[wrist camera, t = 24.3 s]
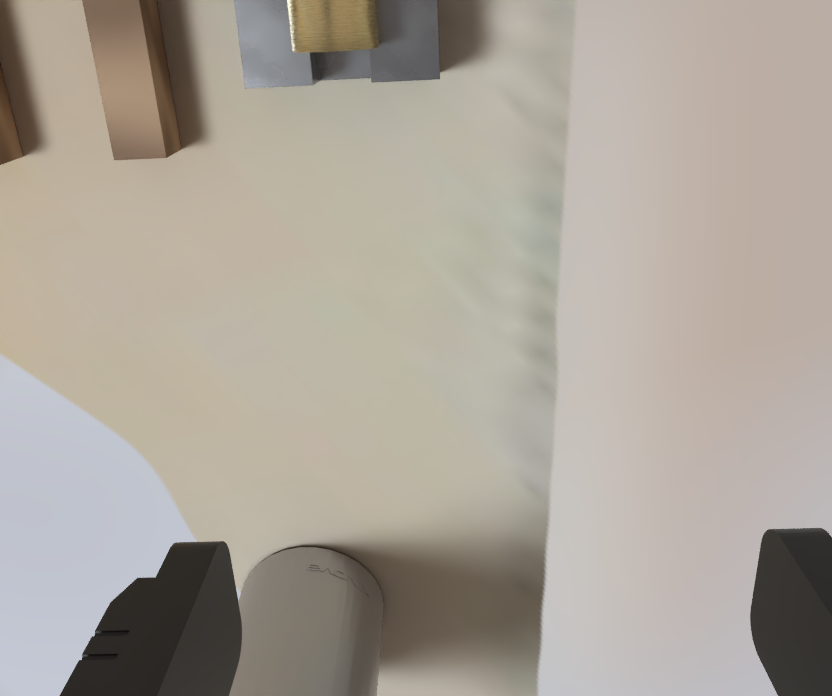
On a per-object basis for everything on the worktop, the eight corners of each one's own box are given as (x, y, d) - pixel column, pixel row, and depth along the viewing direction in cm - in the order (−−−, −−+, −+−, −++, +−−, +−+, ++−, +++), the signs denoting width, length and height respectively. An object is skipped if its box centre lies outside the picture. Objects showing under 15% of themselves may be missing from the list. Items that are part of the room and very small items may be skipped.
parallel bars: (181, 149, 39) (166, 157, 37) (-26, 158, 40) (-53, 167, 37) (135, -129, 34) (114, -138, 32) (-100, -115, 35) (-136, -123, 33)
